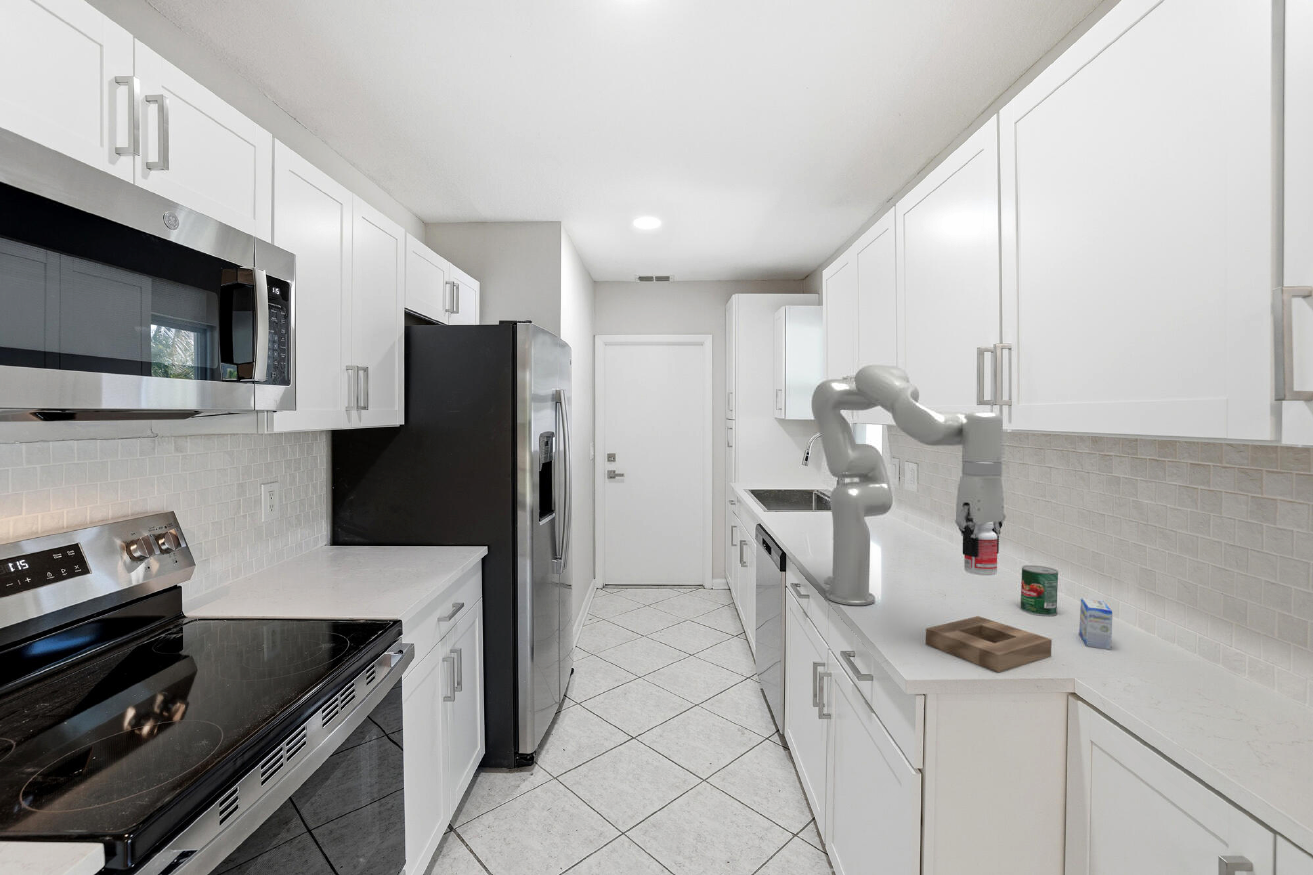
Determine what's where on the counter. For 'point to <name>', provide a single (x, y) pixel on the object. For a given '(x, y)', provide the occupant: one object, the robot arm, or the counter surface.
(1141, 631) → the counter surface
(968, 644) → the walnut frame
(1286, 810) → the counter surface
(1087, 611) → the medicine box
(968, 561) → the pill bottle
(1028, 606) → the canned tomato
